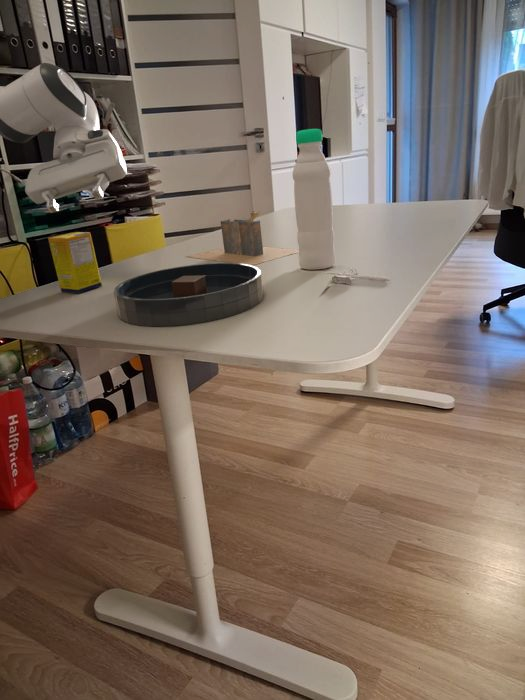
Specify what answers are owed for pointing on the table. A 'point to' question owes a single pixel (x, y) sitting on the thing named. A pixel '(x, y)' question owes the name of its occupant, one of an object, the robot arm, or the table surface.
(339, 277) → the picture light
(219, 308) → the bowl
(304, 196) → the water bottle
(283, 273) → the table surface
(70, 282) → the supplement box
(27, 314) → the table surface
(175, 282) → the block
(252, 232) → the architectural model on board
